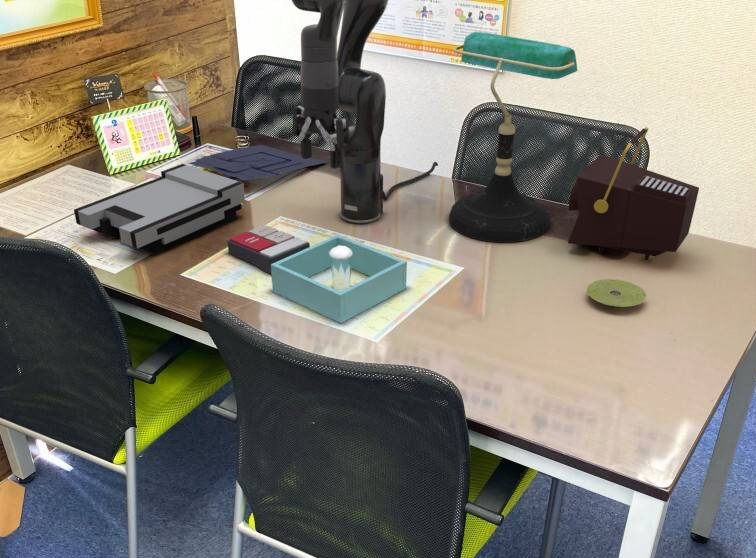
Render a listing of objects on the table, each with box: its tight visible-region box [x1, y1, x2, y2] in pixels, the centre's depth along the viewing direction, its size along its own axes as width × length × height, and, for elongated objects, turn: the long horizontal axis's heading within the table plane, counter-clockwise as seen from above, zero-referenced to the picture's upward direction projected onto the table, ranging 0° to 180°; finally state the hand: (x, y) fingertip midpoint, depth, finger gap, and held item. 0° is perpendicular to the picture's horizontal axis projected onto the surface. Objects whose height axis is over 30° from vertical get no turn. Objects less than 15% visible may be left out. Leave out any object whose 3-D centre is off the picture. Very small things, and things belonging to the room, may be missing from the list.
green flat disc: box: [586, 278, 647, 308], centre depth 169 cm, size 11×11×2 cm
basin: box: [270, 234, 408, 324], centre depth 172 cm, size 19×19×6 cm
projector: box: [567, 126, 700, 262], centre depth 181 cm, size 16×23×25 cm
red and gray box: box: [226, 224, 311, 275], centre depth 185 cm, size 11×4×15 cm
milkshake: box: [325, 245, 353, 292], centre depth 171 cm, size 5×5×10 cm
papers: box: [187, 144, 327, 181], centre depth 228 cm, size 24×30×4 cm
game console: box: [73, 163, 246, 256], centre depth 197 cm, size 21×32×8 cm, turn 141°
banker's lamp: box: [448, 31, 578, 243], centre depth 189 cm, size 26×23×40 cm
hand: (320, 162), depth 180 cm, fingers open, 8 cm apart
